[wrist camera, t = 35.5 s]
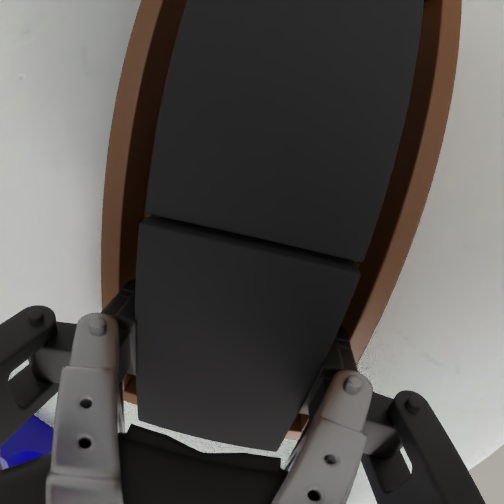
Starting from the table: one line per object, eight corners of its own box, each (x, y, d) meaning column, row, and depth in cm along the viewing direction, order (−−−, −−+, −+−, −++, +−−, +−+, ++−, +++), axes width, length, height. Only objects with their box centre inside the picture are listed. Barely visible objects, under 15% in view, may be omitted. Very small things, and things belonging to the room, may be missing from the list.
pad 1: (233, -16, 8) (213, -73, 4) (382, 18, 8) (426, -23, 4) (187, 185, 11) (144, 214, 7) (335, 219, 11) (363, 264, 7)
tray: (192, -54, 8) (175, -83, 5) (434, 2, 8) (462, -17, 5) (128, 364, 15) (110, 396, 13) (308, 406, 15) (310, 441, 13)
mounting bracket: (148, 481, 21) (132, 532, 16) (131, 495, 24) (117, 536, 18) (-12, 378, 19) (-44, 416, 14) (-5, 409, 22) (-30, 443, 16)
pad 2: (184, 190, 11) (138, 223, 7) (335, 225, 11) (362, 274, 7) (166, 357, 14) (138, 420, 10) (278, 383, 14) (276, 452, 10)
